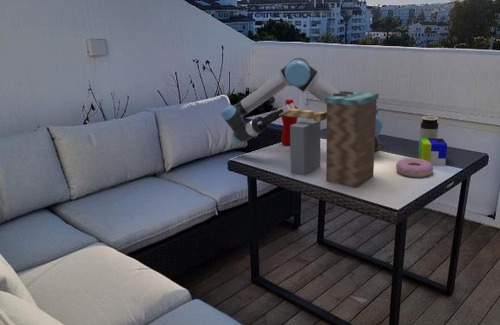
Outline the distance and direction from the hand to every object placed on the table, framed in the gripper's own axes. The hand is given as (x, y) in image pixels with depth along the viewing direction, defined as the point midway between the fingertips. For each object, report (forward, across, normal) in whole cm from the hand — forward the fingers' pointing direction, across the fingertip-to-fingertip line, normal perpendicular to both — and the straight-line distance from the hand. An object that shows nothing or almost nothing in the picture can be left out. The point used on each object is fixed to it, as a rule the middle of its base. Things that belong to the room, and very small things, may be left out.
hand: (290, 106), depth 199 cm
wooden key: (+2, 0, -6) cm, 7 cm away
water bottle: (-34, -32, -14) cm, 49 cm away
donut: (+29, -22, -50) cm, 62 cm away
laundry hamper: (+12, 0, -40) cm, 42 cm away
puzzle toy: (+30, -40, -51) cm, 71 cm away
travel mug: (+25, -52, -48) cm, 75 cm away
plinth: (-8, 0, -29) cm, 30 cm away
